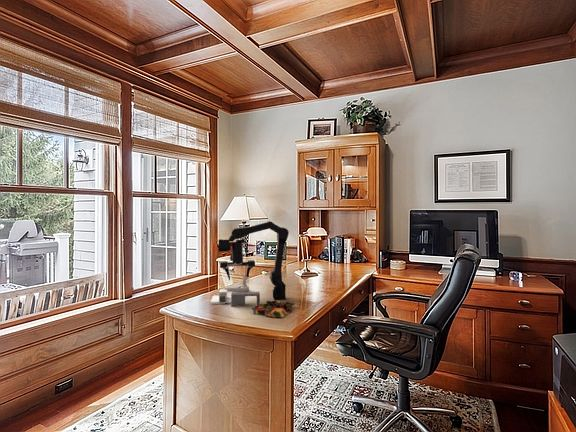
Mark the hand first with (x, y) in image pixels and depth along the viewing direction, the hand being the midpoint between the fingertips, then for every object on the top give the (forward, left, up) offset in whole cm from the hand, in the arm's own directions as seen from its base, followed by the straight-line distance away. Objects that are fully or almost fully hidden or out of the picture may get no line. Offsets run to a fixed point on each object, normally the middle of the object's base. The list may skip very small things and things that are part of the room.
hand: (238, 279), depth 190 cm
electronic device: (+1, -22, -12) cm, 25 cm away
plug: (+8, +2, -10) cm, 13 cm away
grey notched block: (-4, +10, -11) cm, 15 cm away
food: (-18, +22, -12) cm, 31 cm away
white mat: (+8, 0, -11) cm, 14 cm away
